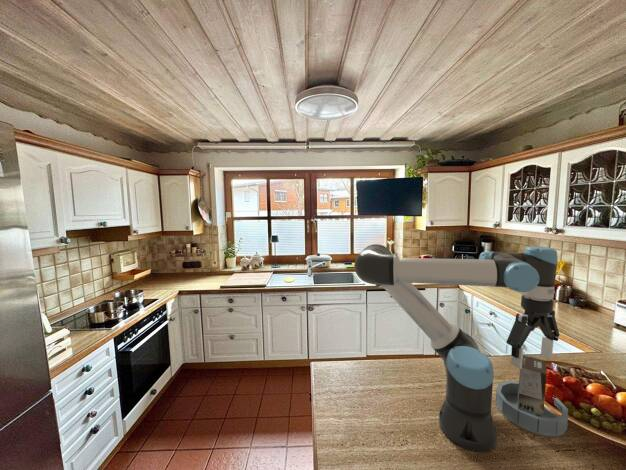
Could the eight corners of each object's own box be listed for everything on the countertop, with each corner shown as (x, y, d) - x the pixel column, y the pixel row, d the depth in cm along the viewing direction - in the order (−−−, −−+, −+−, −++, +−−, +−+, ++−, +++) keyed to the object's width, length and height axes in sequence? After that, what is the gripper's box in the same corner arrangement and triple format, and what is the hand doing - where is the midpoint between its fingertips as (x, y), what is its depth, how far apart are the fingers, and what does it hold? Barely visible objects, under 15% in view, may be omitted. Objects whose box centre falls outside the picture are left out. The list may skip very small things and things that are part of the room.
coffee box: (543, 424, 80) (547, 374, 78) (516, 414, 84) (519, 366, 82) (542, 406, 87) (546, 360, 85) (517, 398, 91) (520, 353, 89)
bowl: (541, 444, 74) (542, 428, 74) (483, 401, 91) (484, 387, 90) (580, 427, 80) (581, 411, 79) (519, 389, 96) (520, 376, 96)
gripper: (521, 306, 74) (515, 377, 76) (578, 296, 81) (571, 361, 84) (495, 297, 81) (491, 362, 83) (550, 289, 88) (544, 348, 91)
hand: (531, 362), depth 83 cm, fingers open, 13 cm apart
